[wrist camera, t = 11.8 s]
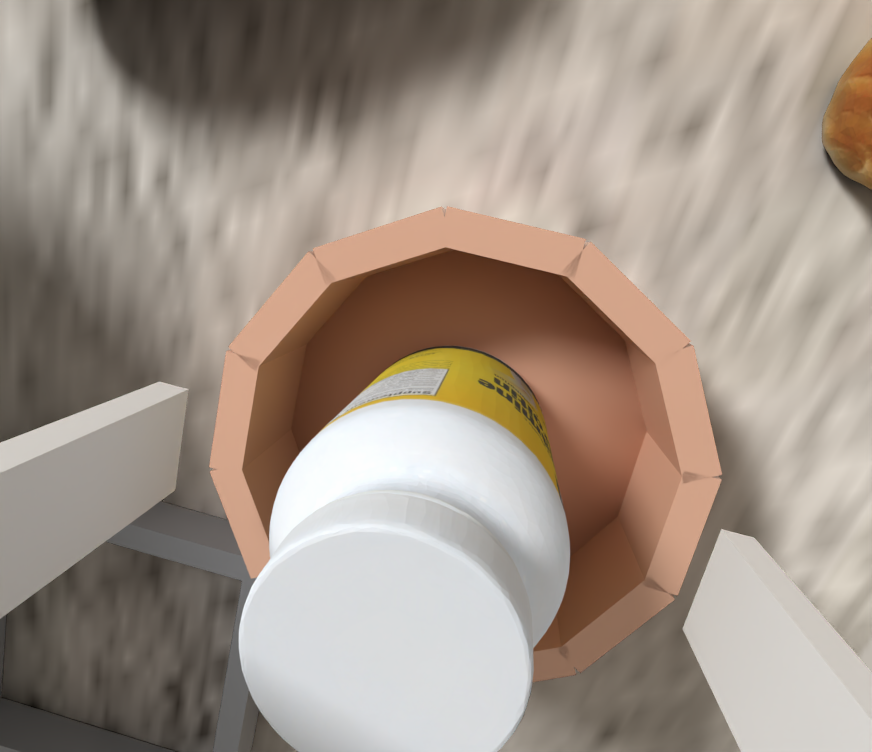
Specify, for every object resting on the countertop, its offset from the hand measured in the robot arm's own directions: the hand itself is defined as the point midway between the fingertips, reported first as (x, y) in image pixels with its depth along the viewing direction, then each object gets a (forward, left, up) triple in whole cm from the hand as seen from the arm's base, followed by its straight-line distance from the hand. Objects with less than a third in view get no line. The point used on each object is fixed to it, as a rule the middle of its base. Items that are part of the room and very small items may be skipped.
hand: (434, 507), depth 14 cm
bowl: (0, 0, -7) cm, 7 cm away
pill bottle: (0, 0, -7) cm, 7 cm away
